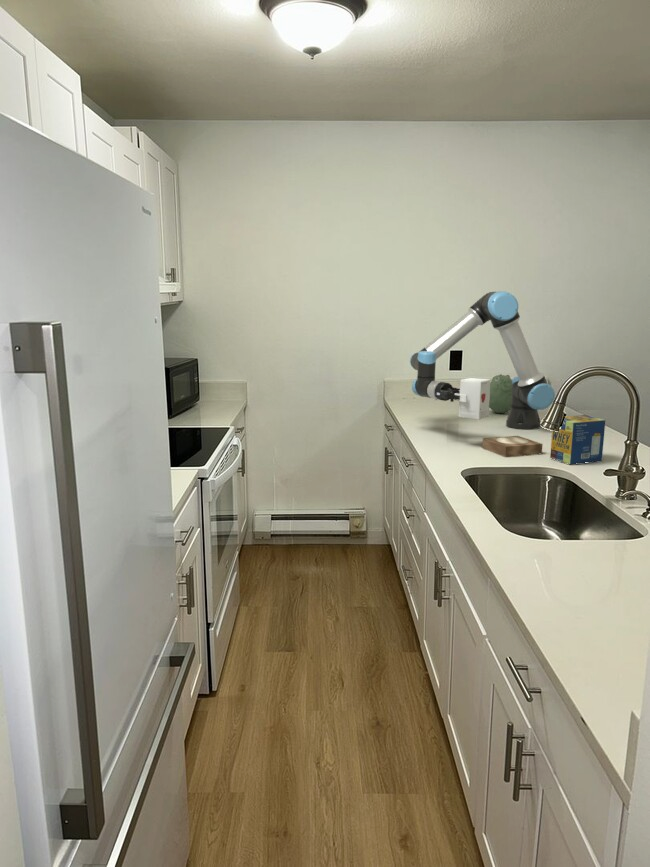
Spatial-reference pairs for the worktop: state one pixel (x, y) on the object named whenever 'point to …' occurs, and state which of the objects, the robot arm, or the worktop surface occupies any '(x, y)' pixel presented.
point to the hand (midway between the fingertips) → (478, 397)
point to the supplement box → (475, 398)
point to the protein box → (578, 440)
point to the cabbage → (500, 393)
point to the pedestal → (512, 446)
